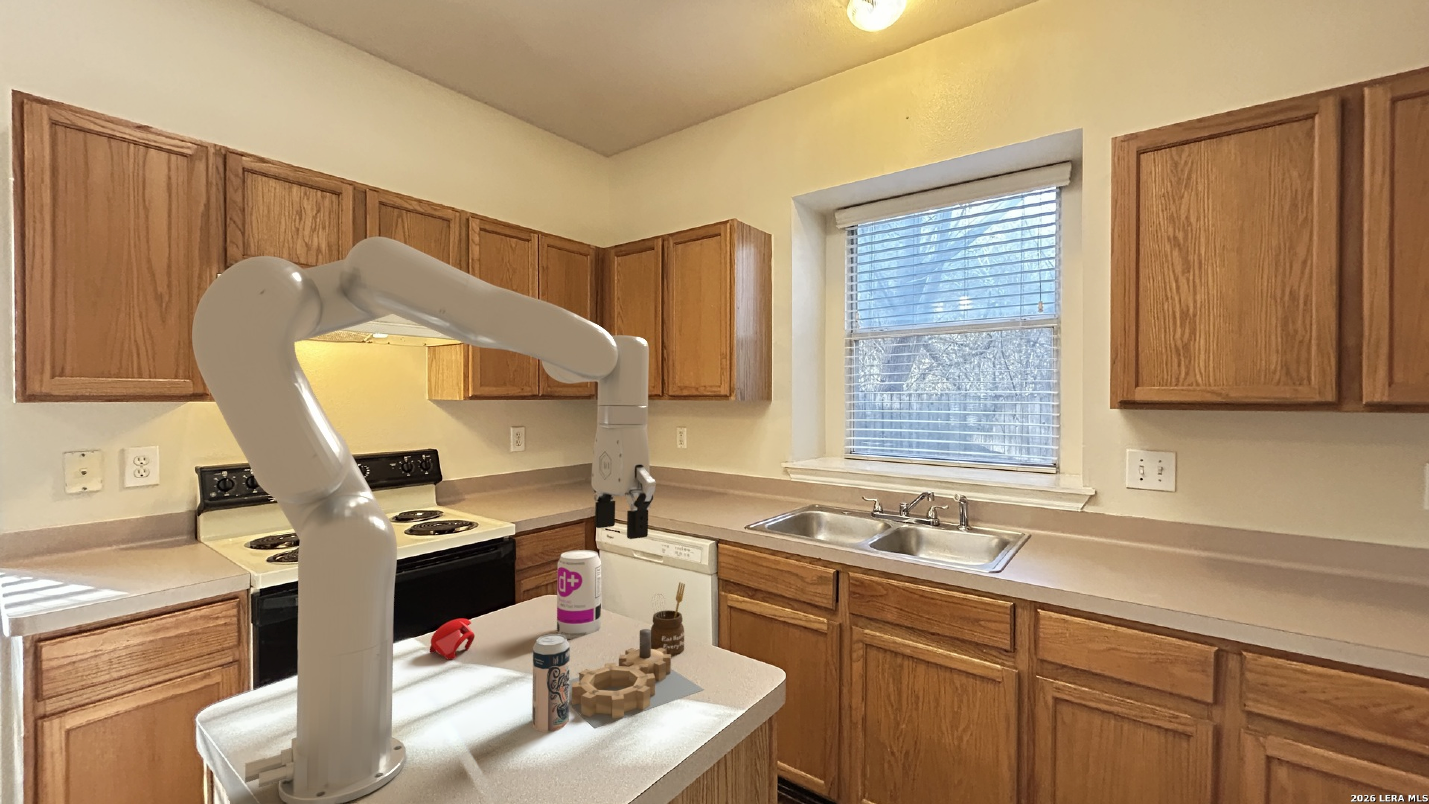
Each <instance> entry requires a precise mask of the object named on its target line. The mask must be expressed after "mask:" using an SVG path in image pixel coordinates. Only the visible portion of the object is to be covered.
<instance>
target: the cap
mask: <svg viewBox="0 0 1429 804" xmlns="http://www.w3.org/2000/svg"><path fill="white" fill-rule="evenodd" d="M469 625H472V622H471V620H469V619H467V618H456V619H452V620H449V621H447V622H446V623H444V624H442V625H441V626H439V628H437V629H436V631H435V632H434V633H433V635H432V636H431V637H430V647H429V653H430V654H433V653H435V652H437V653H438V655H441V656H443V657H445V659H446V660H455V659H456V654H455V653H456V652H457V650H458V649H459V647H460V646H461V645H462V644H463V642H464V641H466V640H467V641H466V643H465V645H464V649H465V650H469V649H470V648H471V645H472V644H473V642H474V640H475V633H474V632H473V630H472V629H471V628H470V626H469ZM461 634H462V635H461Z"/></svg>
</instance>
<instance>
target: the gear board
mask: <svg viewBox="0 0 1429 804" xmlns="http://www.w3.org/2000/svg"><path fill="white" fill-rule="evenodd" d="M578 681H579V677H576V678H573V679H569V707H571V708H573V710H575V711H576V712H577V714H579V715H580V716H581V717H582V718H583V719H584V720H585V721H586V722H587V723H589V724H590V726H592V728H594V729H597V728H600V727H603V726H605V725H609V724H611V723H614V722H617V721H619V720H623V719H625V718H629V717H631V716H635V715H637V714H640V713H642V712H645V711H648V710H651V709H654V708H657V707H660V706H662V705H666V704H669V703H671V702H674V701H677V700H680V699H683V698H685V697H688V696H691V695H694V694H697V693H699V692H703V691H705V689H704V688H703V687H701V686H699V685H698V684H696V683H695V682H693V681H691V679H689V678H687V677H685V676H683V675H682V674H680V673H678V672H677V671H675V670H674V669H672V668H671V674H666V679H663V680H661V681H657V680H655V695H651V696H650V706H648V707H647V708H646V709H644V710H641V709H638V708H635V709H632V710H629V711H626V712H624V717H620V718H612V715H611V714H603V713H595V714H594V715H592V716H591V717H589V716H586V715H583V714H581V704H576V705H572V682H578ZM625 688H628V687H614V686H611V687H607V688H604V689H601V690H606V691H619V690H622V689H625Z"/></svg>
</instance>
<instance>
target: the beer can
mask: <svg viewBox="0 0 1429 804" xmlns="http://www.w3.org/2000/svg"><path fill="white" fill-rule="evenodd" d="M570 657H571V656H570V643H569V642H568V639H566V637H565V636H564V635H560V634H559V633H551V634H544V635H542V636H539V637H538V638H537V639H536V641H535V643H534V645H533V647H532V699H531V700H532V703H531V704H532V707H531V708H532V709H531V710H532V713H531V717H532V718H531V723H532V727H533V729H534V730H537V731H540V732H554V731H557V730H559V729H563V728H565V726H567V724H568V723H569V721H570V705H569V680H570V661H571V660H570Z"/></svg>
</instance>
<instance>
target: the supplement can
mask: <svg viewBox="0 0 1429 804" xmlns="http://www.w3.org/2000/svg"><path fill="white" fill-rule="evenodd" d="M600 558H601V557H600V556H599V553H598V552H597V551H594V550H590V549H589V550H587V549H583V550H580V549H579V550H570V551H565V552H562V553H561V554H560V557H559V559H558V561H557V575H556V577H557V582H556V583H557V584H556V585H557V586H556V589H557V590H556V591H557V592H556V596H557V597H556V601H557V602H556V632H557V634H560V635H564V636H565V637H566V639H567V640H574V639H578V638H581V637H583V636H587V635H590V634H593V633H596V632H599V631H600V630H601V623H602V622H601V621H602V620H601V619H602V613H601V612H602V611H601V610H602V604H601V601H602V561H601V559H600Z"/></svg>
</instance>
